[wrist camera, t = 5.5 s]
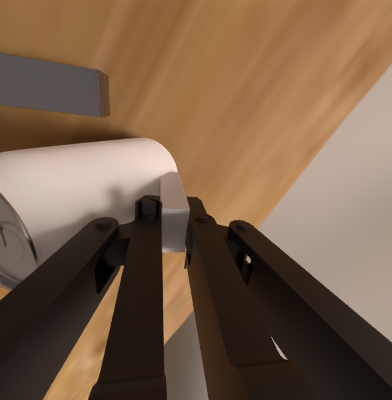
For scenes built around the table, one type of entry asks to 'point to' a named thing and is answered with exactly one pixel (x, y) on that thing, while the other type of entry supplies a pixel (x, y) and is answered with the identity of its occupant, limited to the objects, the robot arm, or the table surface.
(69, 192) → the can
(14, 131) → the table surface
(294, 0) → the table surface
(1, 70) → the slot guide
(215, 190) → the table surface
